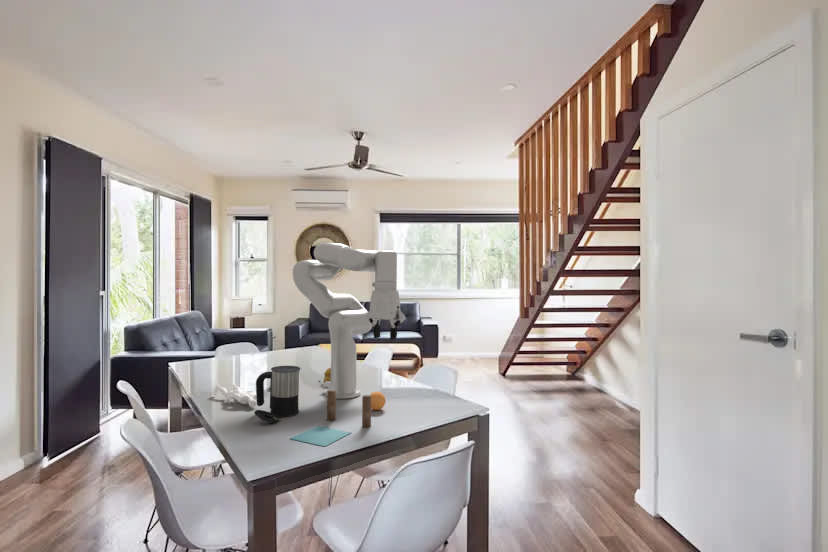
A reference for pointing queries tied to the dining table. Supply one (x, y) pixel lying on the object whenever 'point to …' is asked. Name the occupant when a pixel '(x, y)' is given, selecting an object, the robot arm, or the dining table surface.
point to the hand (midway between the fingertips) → (385, 338)
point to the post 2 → (366, 411)
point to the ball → (377, 400)
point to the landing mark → (320, 436)
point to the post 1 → (331, 405)
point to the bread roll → (327, 375)
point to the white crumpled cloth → (238, 395)
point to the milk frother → (279, 393)
